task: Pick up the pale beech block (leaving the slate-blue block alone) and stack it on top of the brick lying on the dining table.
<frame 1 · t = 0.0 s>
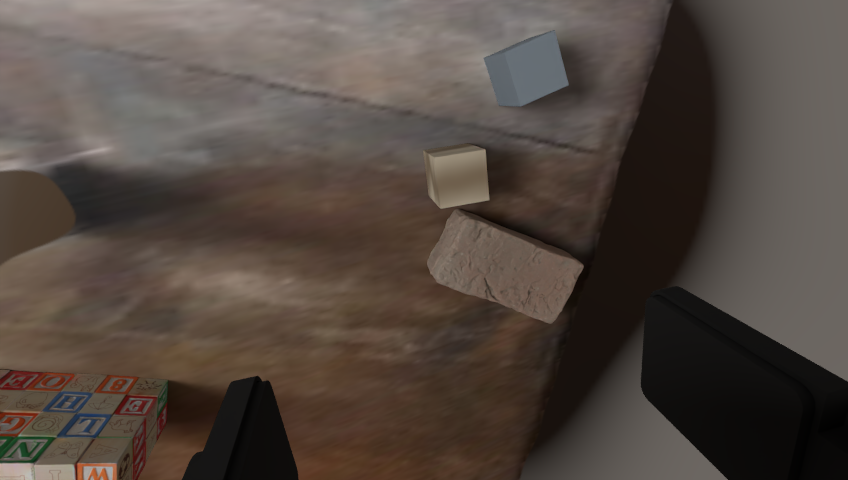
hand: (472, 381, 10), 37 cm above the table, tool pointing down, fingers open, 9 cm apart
slate block: (512, 72, 44), on the table
beech block: (448, 169, 46), on the table
brick: (497, 259, 51), on the table
stack of blocks: (63, 394, 47), on the table
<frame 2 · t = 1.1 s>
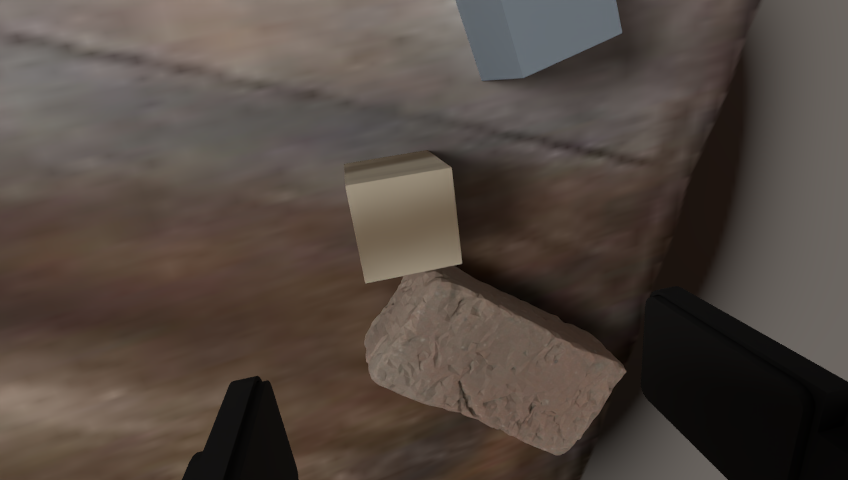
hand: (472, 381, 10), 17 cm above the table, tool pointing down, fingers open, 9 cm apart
slate block: (507, 18, 24), on the table
beech block: (392, 197, 26), on the table
brick: (483, 338, 31), on the table
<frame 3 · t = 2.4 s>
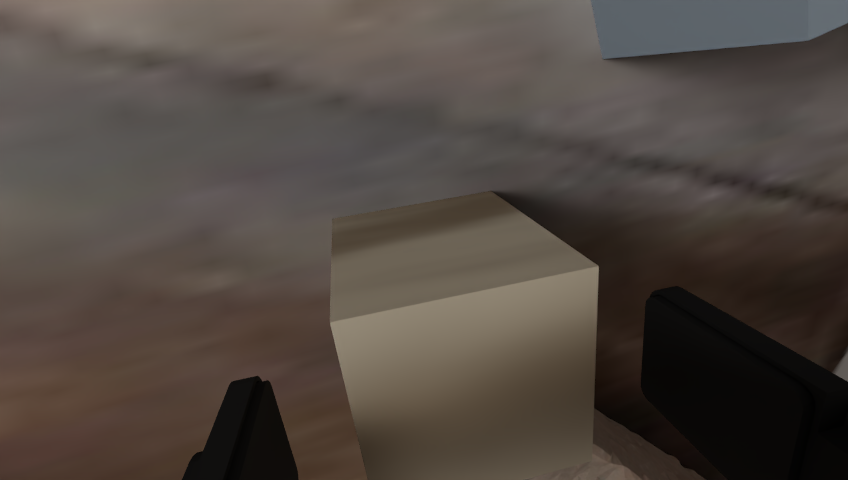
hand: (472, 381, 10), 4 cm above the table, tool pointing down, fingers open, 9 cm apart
beech block: (423, 275, 14), on the table
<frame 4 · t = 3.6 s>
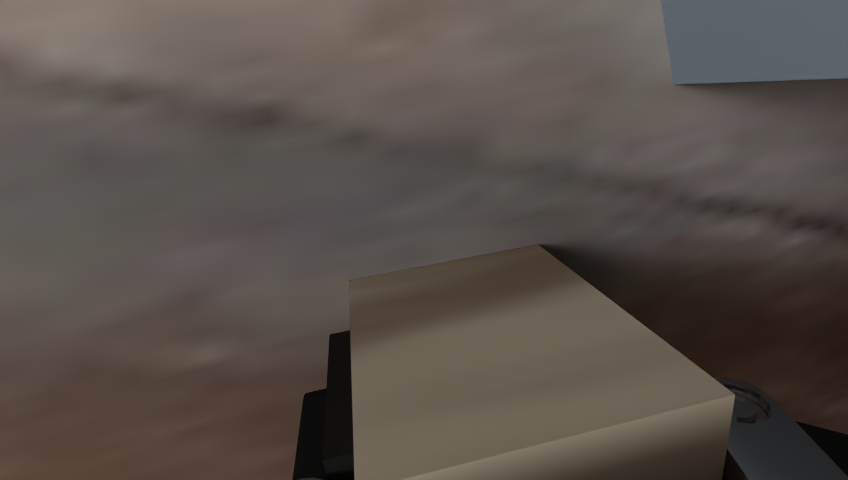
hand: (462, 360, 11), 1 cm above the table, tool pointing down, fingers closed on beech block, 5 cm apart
beech block: (455, 344, 12), on the table, touching gripper
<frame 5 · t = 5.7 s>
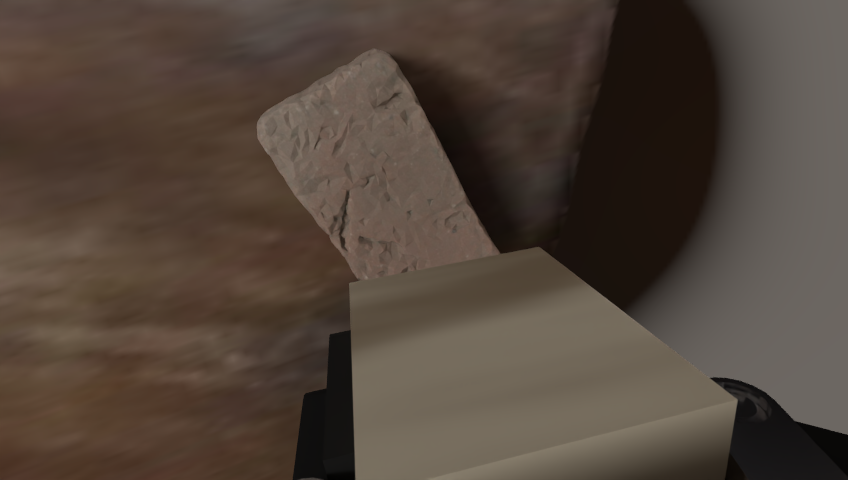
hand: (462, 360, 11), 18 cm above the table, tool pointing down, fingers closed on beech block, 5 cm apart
beech block: (456, 346, 12), point 17 cm above the table, touching gripper
brick: (389, 198, 28), on the table
when the fingers open (7 cm above the table, at t = 7.9 s): beech block drops 3 cm, point 4 cm above the table.
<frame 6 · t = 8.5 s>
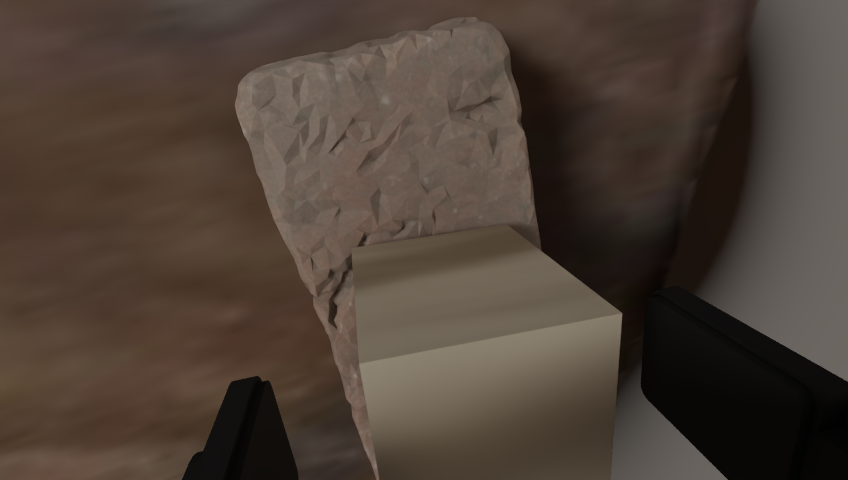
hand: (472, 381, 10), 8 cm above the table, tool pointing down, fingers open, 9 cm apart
beech block: (437, 306, 14), point 4 cm above the table
brick: (412, 249, 18), on the table
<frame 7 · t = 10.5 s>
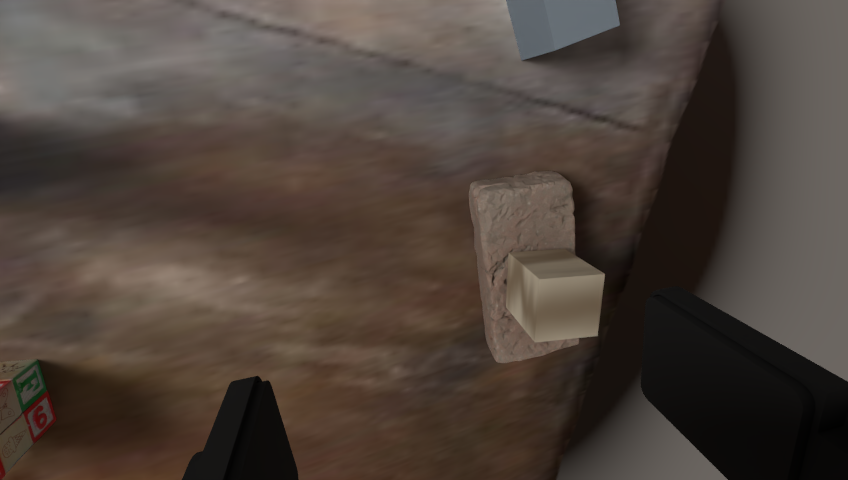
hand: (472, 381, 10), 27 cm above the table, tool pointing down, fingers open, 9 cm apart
slate block: (541, 18, 34), on the table
beech block: (534, 278, 36), point 4 cm above the table, touching brick
brick: (513, 258, 41), on the table, touching beech block
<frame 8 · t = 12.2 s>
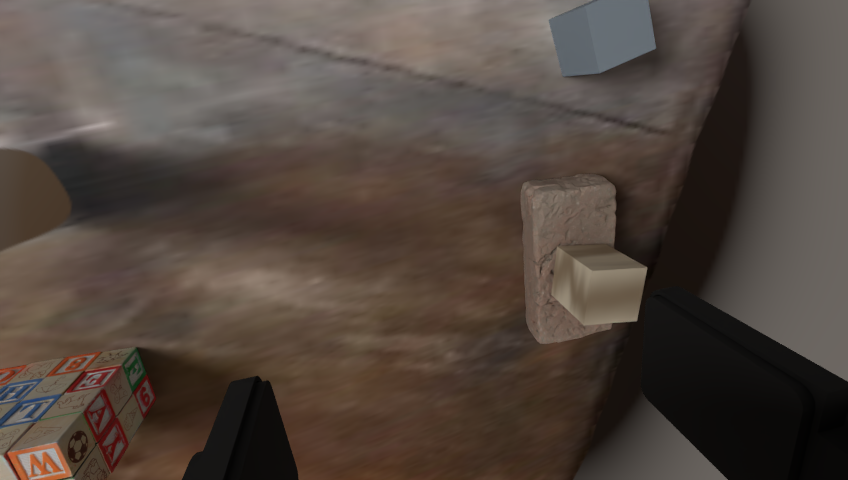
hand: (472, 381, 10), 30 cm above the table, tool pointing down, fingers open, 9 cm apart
slate block: (580, 38, 38), on the table
beech block: (578, 269, 41), point 4 cm above the table, touching brick
brick: (554, 250, 45), on the table, touching beech block
stack of blocks: (27, 392, 39), on the table
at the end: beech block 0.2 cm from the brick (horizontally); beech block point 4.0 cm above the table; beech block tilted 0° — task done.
